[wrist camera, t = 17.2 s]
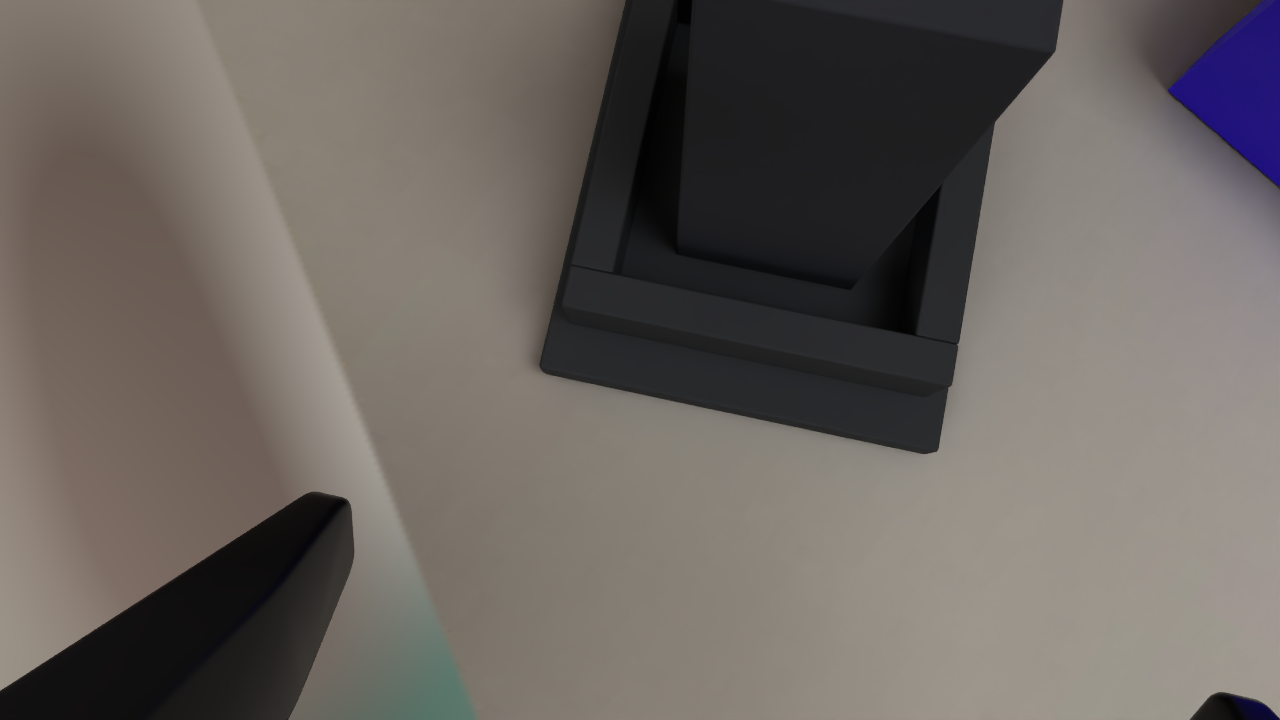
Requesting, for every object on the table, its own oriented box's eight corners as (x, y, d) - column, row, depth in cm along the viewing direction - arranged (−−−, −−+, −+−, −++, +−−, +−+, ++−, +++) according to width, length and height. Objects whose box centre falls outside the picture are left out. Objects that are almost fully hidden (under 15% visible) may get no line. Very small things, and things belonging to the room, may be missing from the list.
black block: (851, 291, 23) (1057, 52, 11) (675, 254, 23) (692, -16, 11) (885, 106, 24) (1112, -300, 12) (714, 74, 24) (769, -356, 12)
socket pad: (926, 455, 23) (966, 446, 20) (543, 373, 24) (526, 353, 21) (997, 25, 25) (1043, -40, 22) (641, -42, 26) (638, -114, 23)
